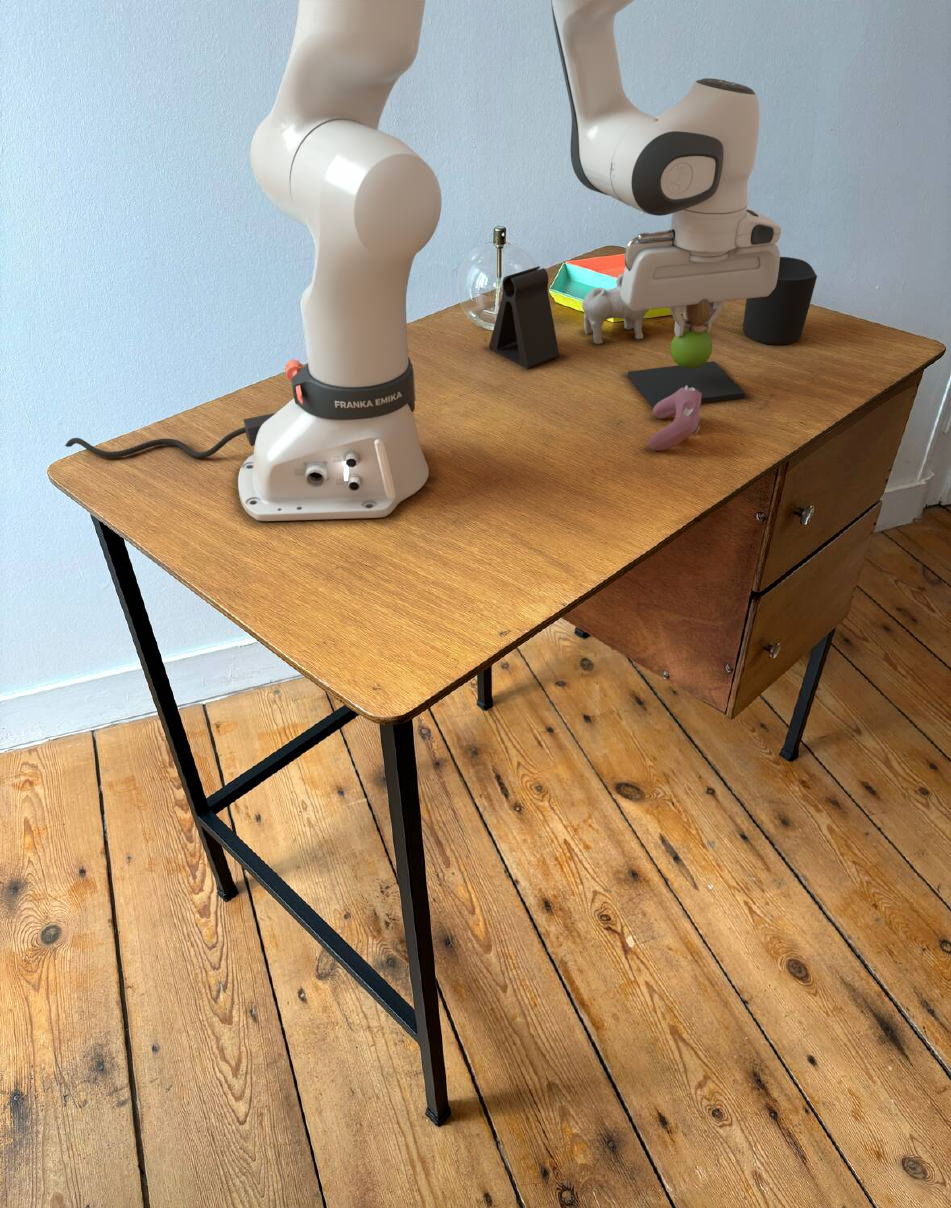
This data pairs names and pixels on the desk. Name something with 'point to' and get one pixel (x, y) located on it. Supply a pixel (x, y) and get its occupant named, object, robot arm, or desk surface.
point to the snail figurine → (693, 338)
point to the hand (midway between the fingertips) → (692, 333)
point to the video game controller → (677, 418)
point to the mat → (686, 383)
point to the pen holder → (782, 305)
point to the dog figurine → (609, 311)
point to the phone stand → (525, 320)
